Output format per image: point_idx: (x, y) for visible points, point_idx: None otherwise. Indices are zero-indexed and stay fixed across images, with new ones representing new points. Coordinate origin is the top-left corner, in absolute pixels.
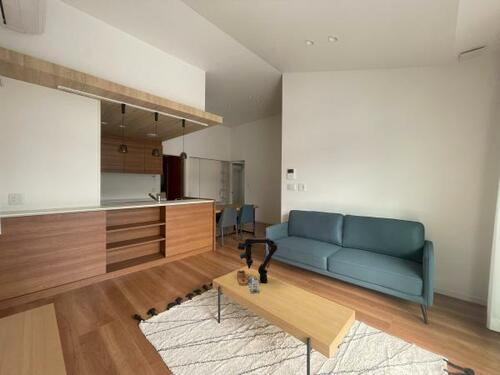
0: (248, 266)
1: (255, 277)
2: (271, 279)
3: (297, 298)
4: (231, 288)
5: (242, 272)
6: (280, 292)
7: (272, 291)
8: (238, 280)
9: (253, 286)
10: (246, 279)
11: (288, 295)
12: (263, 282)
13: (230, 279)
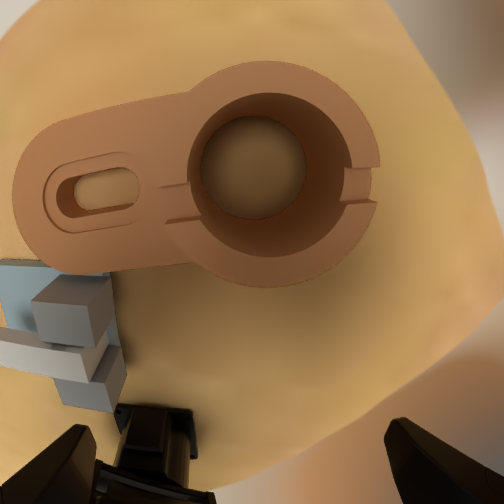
0: (24, 482)
1: (98, 403)
2: (201, 481)
3: (3, 480)
4: (10, 40)
5: (323, 212)
6: (19, 457)
7: (10, 427)
8: (106, 109)
9: (5, 315)
10: (117, 256)
11: (8, 469)
12: (119, 428)
13: (251, 3)
